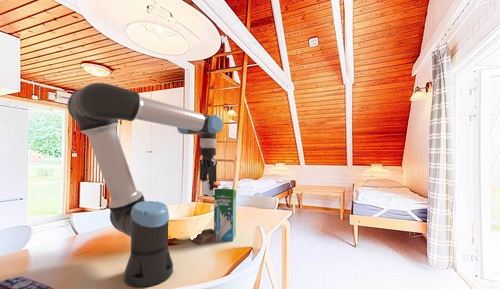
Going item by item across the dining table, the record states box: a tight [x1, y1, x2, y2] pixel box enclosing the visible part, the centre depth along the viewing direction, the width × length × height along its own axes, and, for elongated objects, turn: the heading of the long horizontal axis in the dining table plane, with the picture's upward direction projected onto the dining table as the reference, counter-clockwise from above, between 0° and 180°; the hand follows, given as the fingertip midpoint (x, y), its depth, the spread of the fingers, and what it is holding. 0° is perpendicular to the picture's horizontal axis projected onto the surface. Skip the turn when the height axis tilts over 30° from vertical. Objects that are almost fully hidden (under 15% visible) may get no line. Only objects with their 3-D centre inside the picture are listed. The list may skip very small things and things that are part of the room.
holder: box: [191, 228, 217, 246], centre depth 117 cm, size 14×10×3 cm
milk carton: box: [213, 186, 237, 242], centre depth 119 cm, size 9×9×25 cm
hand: (207, 195), depth 117 cm, fingers open, 5 cm apart
